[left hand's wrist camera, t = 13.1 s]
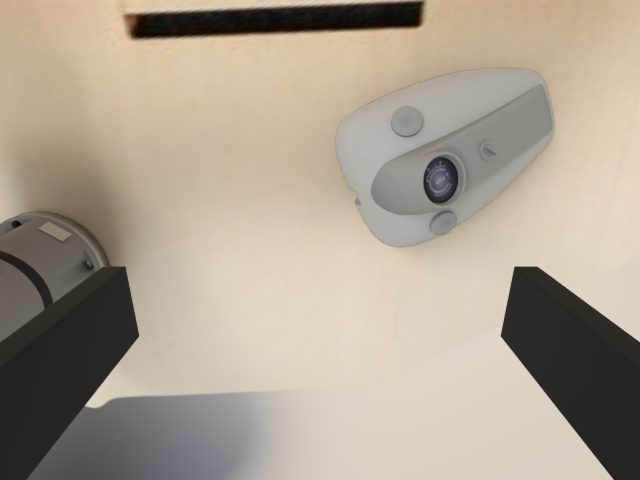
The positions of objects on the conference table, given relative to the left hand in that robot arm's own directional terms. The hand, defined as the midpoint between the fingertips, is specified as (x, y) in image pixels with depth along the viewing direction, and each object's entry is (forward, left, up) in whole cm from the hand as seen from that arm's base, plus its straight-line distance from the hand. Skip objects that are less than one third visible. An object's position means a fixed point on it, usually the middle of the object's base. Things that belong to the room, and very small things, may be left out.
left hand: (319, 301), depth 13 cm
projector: (+9, -10, -34) cm, 37 cm away
